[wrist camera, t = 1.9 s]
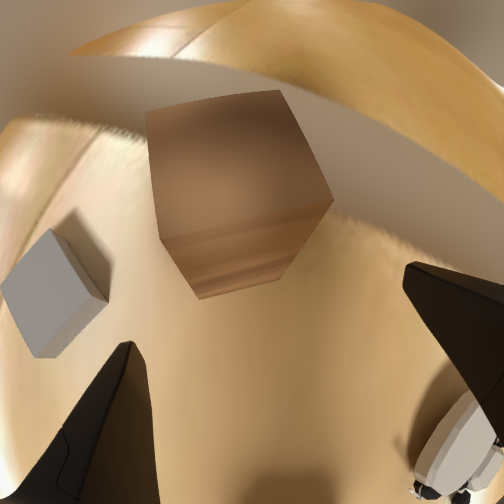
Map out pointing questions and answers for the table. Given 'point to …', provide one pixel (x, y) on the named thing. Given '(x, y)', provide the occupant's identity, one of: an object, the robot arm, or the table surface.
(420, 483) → the robot toy
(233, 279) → the walnut block
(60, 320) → the base slab
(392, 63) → the table surface
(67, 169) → the table surface
